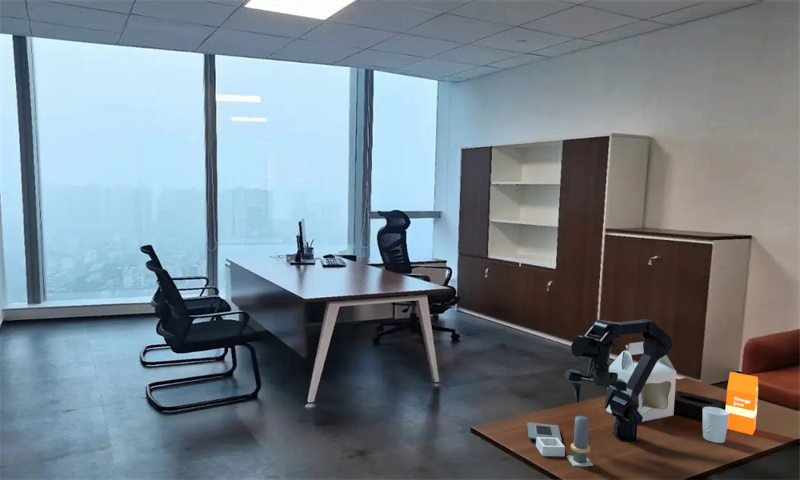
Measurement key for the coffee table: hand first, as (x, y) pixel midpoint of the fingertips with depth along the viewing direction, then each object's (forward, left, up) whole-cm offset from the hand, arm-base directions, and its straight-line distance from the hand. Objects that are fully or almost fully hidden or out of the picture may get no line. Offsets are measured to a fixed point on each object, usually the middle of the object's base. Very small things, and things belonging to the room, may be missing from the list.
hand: (591, 405), depth 180 cm
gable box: (-31, -29, -13) cm, 44 cm away
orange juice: (-62, -16, -13) cm, 65 cm away
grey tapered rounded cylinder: (+8, +13, -12) cm, 20 cm away
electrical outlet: (+14, -6, -13) cm, 20 cm away
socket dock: (+15, +6, -13) cm, 21 cm away
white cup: (-46, -6, -13) cm, 48 cm away
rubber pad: (+8, +13, -13) cm, 20 cm away
